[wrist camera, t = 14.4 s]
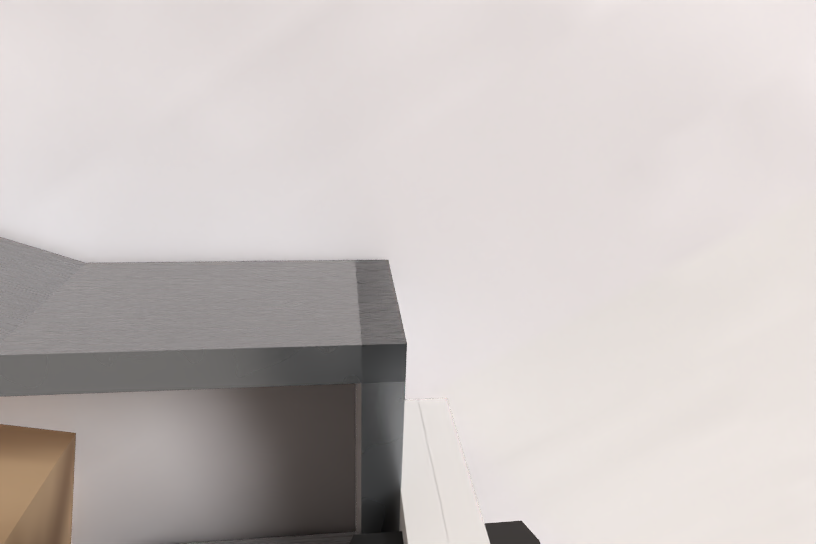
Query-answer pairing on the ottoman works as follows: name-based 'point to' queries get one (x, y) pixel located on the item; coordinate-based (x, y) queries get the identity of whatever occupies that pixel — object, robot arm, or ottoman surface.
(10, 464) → the slat
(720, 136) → the ottoman surface
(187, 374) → the cap
